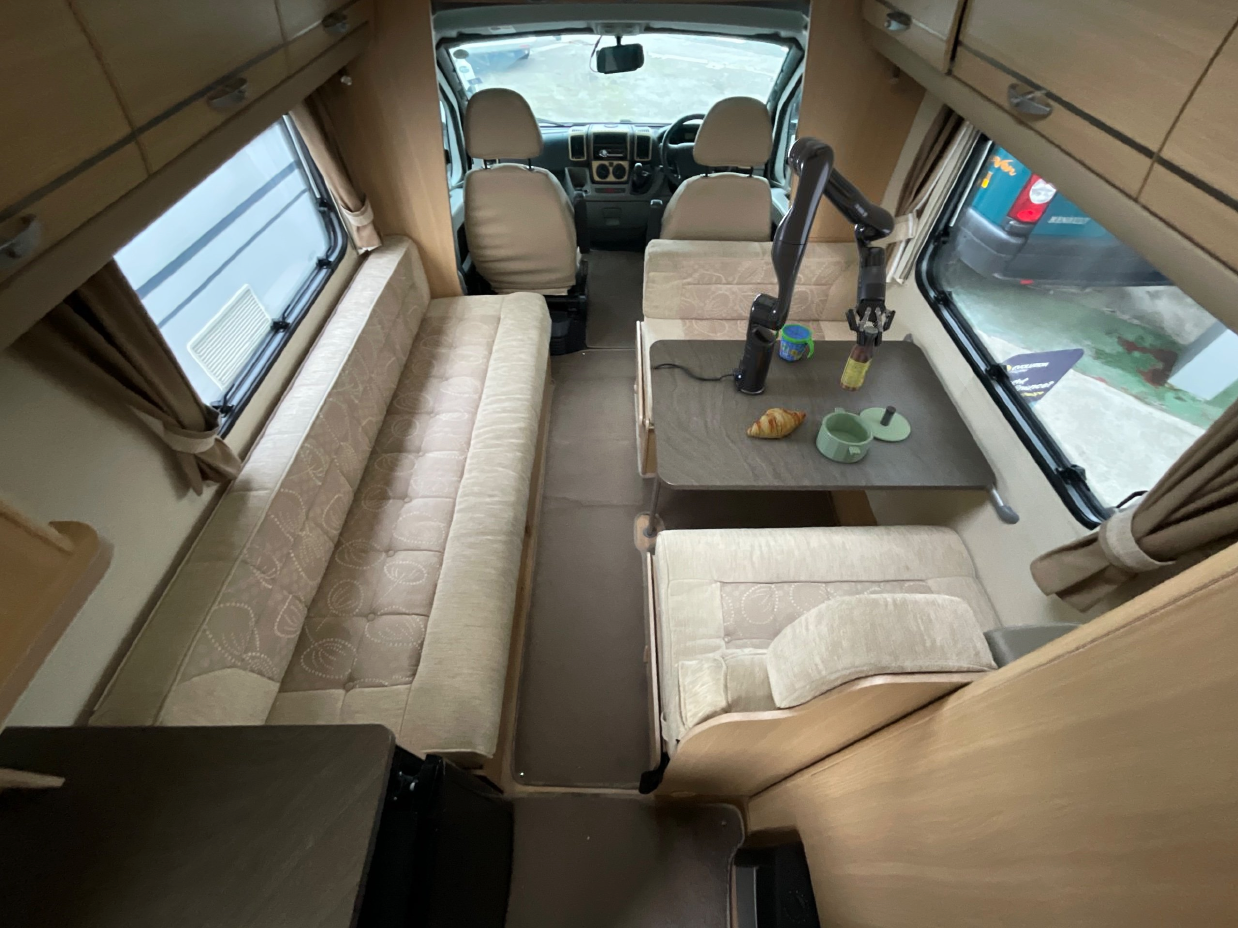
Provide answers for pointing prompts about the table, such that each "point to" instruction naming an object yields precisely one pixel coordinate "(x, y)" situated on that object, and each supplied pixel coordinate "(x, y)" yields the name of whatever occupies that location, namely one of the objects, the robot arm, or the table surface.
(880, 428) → the pot lid
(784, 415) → the croissant
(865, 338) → the sauce bottle
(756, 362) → the robot arm
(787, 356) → the snack cup
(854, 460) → the pot
